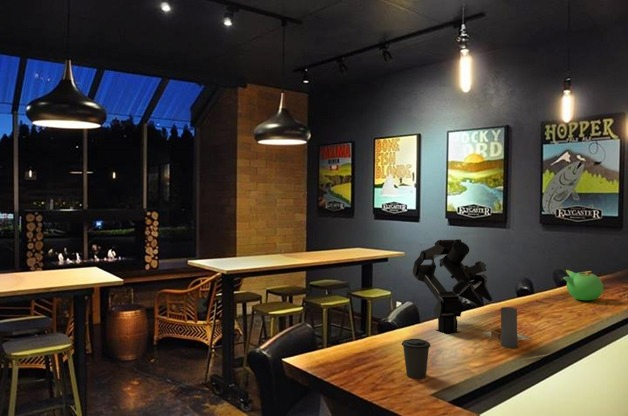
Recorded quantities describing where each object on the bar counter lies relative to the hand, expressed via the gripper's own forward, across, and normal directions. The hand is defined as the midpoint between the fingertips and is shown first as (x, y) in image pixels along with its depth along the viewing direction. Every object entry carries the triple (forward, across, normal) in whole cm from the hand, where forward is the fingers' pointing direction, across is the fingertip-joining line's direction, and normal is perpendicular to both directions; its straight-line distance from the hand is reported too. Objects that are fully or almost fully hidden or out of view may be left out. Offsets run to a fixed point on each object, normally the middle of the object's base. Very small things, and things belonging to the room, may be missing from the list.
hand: (486, 302), depth 168 cm
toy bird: (+17, +100, +3) cm, 102 cm away
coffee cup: (+8, -46, +12) cm, 48 cm away
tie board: (+12, +10, +8) cm, 17 cm away
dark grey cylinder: (+16, -2, +4) cm, 16 cm away
